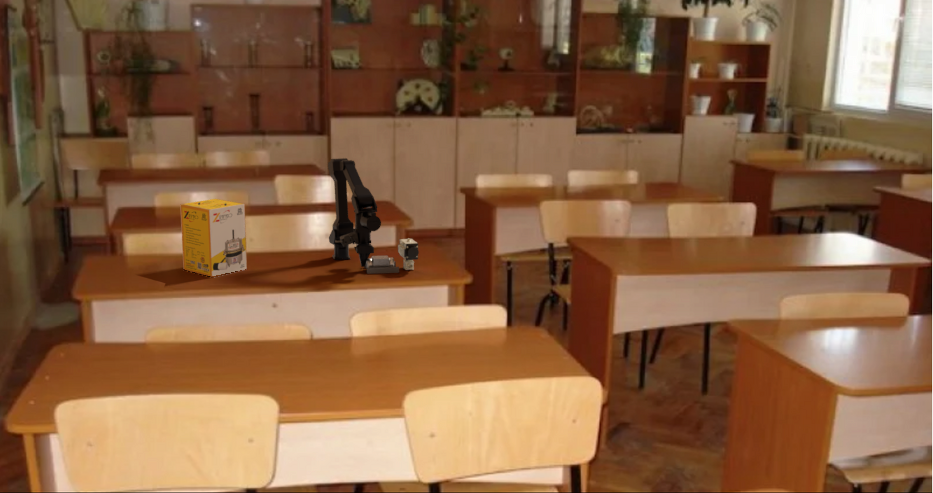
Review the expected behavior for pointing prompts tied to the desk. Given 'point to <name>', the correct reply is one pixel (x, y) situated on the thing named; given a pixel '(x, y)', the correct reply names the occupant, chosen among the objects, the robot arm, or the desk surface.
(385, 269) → the guide channel
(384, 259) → the coupling
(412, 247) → the pneumatic valve
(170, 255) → the desk surface
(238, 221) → the packaging box
